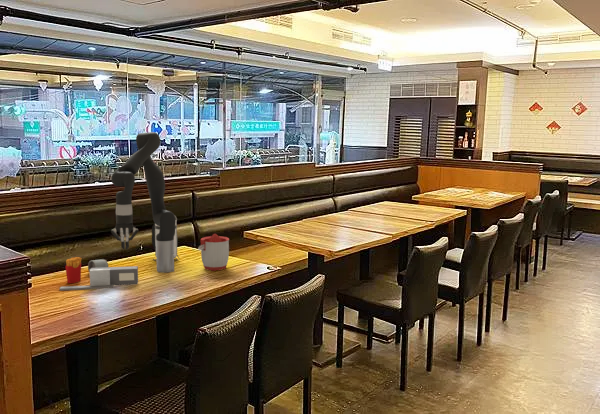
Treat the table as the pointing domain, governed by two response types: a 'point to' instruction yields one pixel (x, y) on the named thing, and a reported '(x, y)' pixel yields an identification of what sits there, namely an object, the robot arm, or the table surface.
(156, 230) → the coffee press
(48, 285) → the table surface
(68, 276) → the french fries
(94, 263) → the ceramic mug
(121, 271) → the grey box with rod
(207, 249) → the citrus juicer
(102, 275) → the sliding shutter
